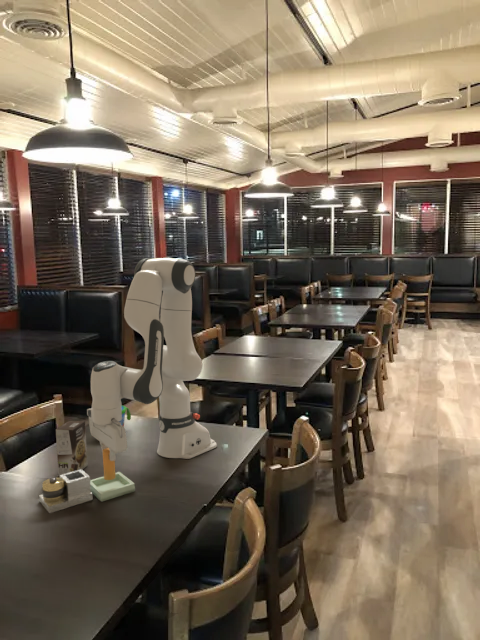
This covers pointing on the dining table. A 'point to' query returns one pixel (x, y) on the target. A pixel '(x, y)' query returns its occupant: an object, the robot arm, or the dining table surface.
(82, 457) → the coffee box
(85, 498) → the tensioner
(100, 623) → the dining table surface
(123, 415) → the snack cup
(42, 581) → the dining table surface
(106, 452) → the pin
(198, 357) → the robot arm
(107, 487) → the tray
